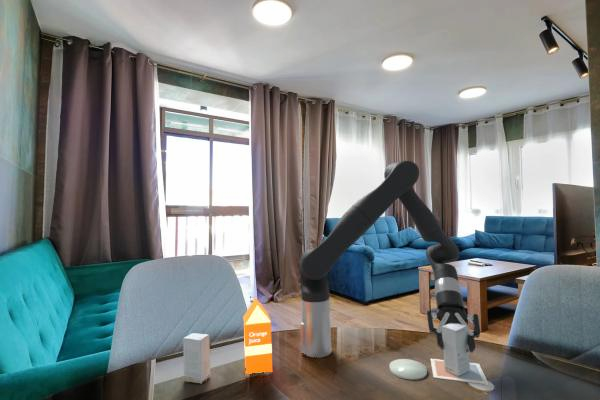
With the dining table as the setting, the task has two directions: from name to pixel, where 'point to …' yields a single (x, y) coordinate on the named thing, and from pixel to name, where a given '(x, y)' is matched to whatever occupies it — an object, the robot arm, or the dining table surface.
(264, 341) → the orange juice
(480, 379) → the blue and orange card
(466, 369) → the skincare box
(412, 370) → the coaster
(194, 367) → the skincare box
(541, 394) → the dining table surface
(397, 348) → the dining table surface
